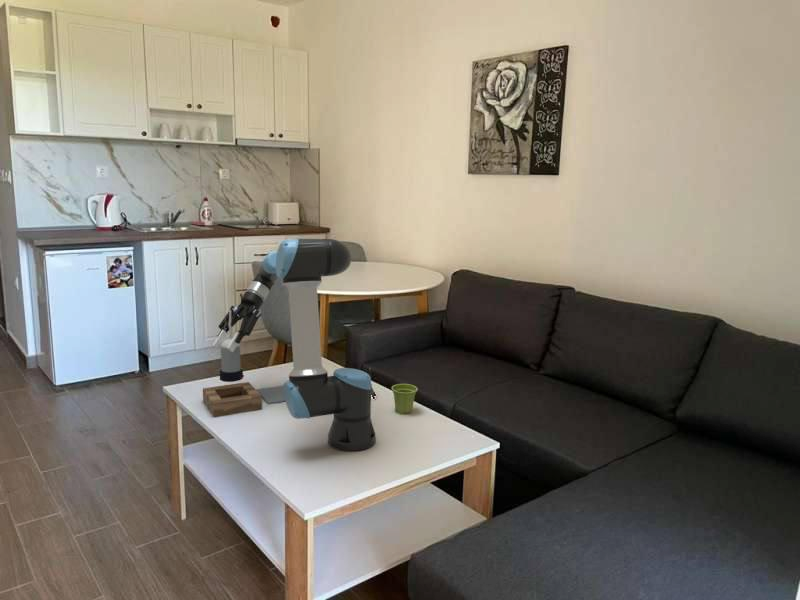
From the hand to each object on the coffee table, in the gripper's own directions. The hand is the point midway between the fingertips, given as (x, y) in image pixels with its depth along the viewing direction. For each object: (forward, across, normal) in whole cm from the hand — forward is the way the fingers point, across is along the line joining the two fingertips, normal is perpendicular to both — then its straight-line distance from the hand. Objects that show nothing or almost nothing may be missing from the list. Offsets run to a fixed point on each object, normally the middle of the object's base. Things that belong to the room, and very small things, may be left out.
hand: (222, 348), depth 206 cm
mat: (0, -7, -32) cm, 32 cm away
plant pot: (-8, -55, -40) cm, 68 cm away
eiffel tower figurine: (-11, -37, -44) cm, 59 cm away
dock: (+13, 0, -18) cm, 23 cm away
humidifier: (+6, 0, -11) cm, 13 cm away
